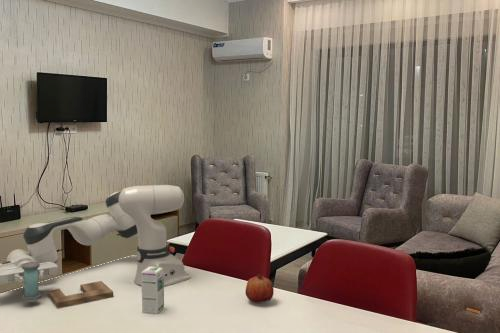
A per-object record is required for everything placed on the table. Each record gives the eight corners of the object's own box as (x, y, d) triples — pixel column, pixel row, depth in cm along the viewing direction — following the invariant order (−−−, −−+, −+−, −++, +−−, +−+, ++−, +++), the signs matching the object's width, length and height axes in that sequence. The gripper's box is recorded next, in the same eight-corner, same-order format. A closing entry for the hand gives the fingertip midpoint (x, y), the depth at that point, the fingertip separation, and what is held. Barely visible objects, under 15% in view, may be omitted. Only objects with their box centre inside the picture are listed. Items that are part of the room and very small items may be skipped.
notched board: (101, 285, 183) (101, 280, 183) (113, 296, 172) (113, 291, 172) (48, 296, 172) (47, 290, 172) (57, 308, 161) (57, 302, 161)
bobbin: (38, 293, 168) (37, 261, 167) (42, 298, 163) (41, 265, 162) (21, 296, 165) (20, 263, 164) (24, 301, 160) (23, 267, 159)
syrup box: (157, 314, 157) (157, 272, 156) (141, 312, 159) (141, 270, 157) (164, 307, 163) (164, 267, 162) (148, 306, 164) (148, 265, 163)
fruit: (279, 302, 170) (280, 275, 169) (261, 310, 162) (261, 282, 161) (257, 294, 177) (258, 268, 176) (239, 301, 169) (239, 274, 169)
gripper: (53, 271, 180) (63, 282, 169) (-7, 281, 168) (-1, 293, 157) (53, 255, 180) (62, 264, 168) (-7, 264, 168) (-2, 275, 157)
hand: (31, 278), depth 163 cm, fingers closed on bobbin, 4 cm apart
